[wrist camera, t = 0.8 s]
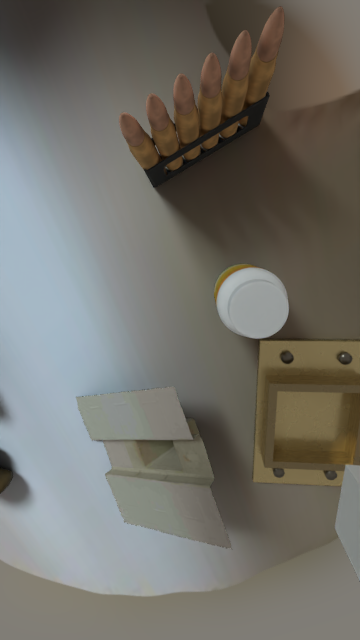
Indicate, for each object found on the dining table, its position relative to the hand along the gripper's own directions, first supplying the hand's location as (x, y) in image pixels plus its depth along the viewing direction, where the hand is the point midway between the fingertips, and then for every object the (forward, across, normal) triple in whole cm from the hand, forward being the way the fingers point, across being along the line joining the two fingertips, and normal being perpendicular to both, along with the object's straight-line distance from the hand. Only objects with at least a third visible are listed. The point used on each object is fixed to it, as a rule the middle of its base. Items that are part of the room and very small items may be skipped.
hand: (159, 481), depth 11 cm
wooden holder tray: (+20, +13, -9) cm, 25 cm away
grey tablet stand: (+20, -4, -13) cm, 25 cm away
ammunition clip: (+20, +1, +18) cm, 27 cm away
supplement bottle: (+20, +5, +5) cm, 21 cm away
